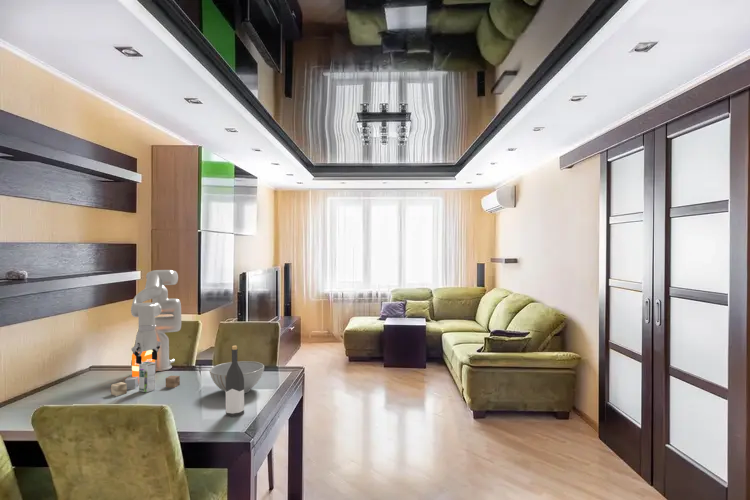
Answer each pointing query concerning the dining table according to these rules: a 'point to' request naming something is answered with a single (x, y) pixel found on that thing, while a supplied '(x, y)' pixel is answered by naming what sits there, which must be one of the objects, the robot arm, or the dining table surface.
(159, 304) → the robot arm
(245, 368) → the decorative bowl
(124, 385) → the maple cube
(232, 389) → the wine bottle
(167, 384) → the walnut cube
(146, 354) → the orange juice
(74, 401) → the dining table surface
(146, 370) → the syrup box
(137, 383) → the slate painted cube
